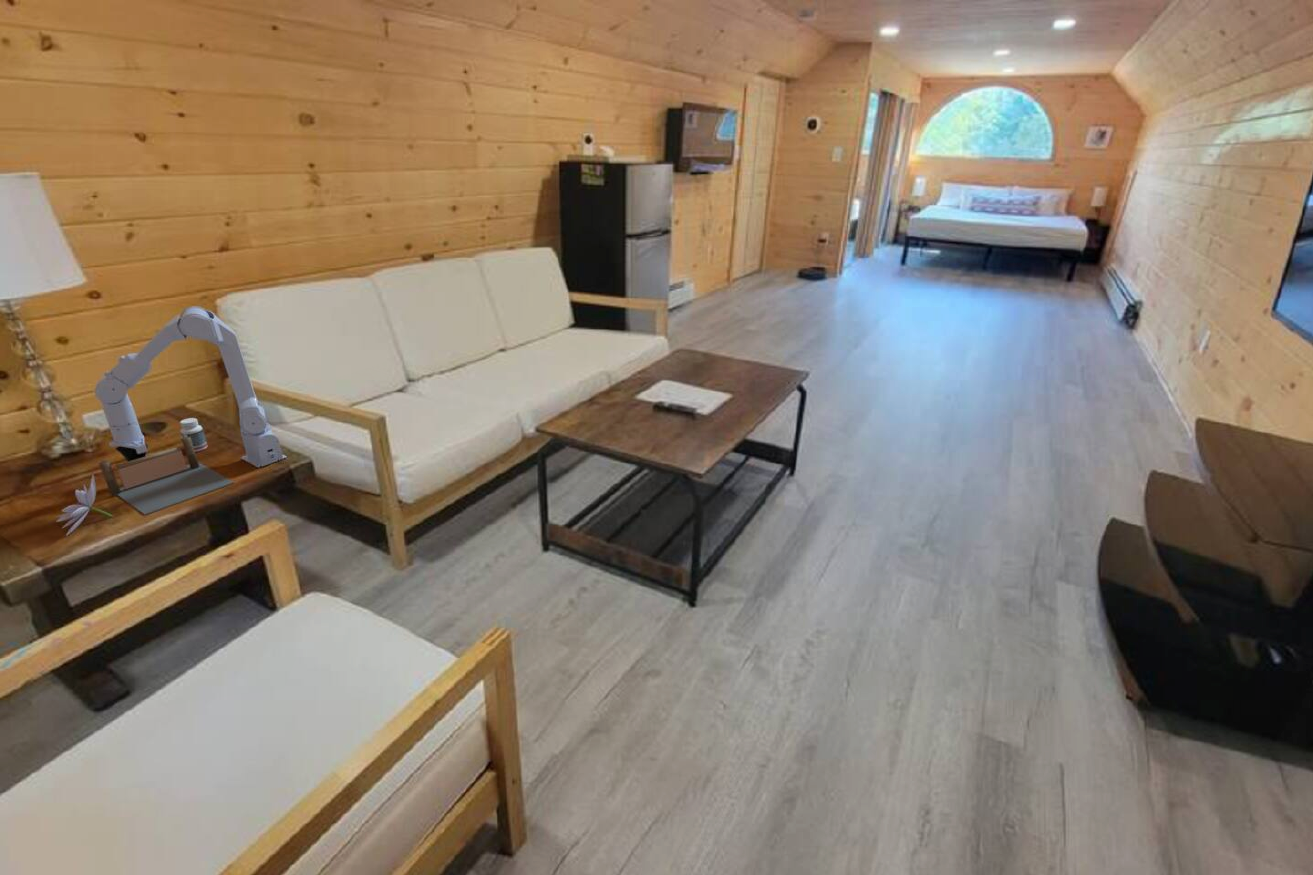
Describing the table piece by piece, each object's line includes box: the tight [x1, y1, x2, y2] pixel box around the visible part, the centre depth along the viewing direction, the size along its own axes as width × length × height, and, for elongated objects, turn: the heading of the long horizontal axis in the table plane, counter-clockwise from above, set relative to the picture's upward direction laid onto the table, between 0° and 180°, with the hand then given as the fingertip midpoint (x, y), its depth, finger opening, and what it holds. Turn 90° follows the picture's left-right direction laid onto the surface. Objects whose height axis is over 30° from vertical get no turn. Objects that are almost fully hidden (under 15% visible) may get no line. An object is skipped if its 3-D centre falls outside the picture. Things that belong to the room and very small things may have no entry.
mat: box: [117, 461, 235, 516], centre depth 164 cm, size 20×20×1 cm
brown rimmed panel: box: [115, 446, 187, 489], centre depth 165 cm, size 14×1×7 cm, turn 147°
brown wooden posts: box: [98, 437, 199, 497], centre depth 164 cm, size 2×20×9 cm, turn 147°
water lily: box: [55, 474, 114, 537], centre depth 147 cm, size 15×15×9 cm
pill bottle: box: [179, 417, 208, 453], centre depth 182 cm, size 5×5×9 cm
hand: (139, 470), depth 165 cm, fingers closed
